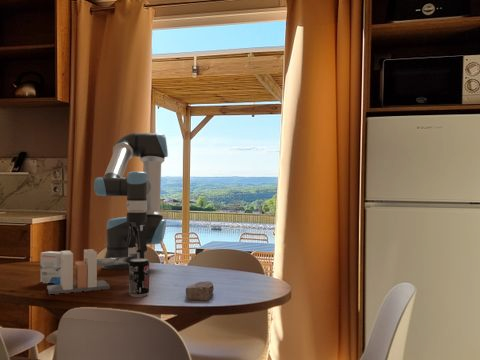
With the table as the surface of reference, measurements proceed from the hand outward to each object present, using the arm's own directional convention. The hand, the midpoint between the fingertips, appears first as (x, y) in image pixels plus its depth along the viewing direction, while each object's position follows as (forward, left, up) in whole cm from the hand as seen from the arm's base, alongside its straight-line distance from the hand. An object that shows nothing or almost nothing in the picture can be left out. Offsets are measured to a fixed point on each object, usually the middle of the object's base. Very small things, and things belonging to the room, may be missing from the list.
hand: (136, 266), depth 163 cm
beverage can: (+4, +19, -6) cm, 20 cm away
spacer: (+20, 0, -5) cm, 21 cm away
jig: (+21, 0, -6) cm, 22 cm away
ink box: (+28, -16, -6) cm, 33 cm away
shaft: (+8, 0, +1) cm, 8 cm away
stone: (-14, +30, -7) cm, 34 cm away
